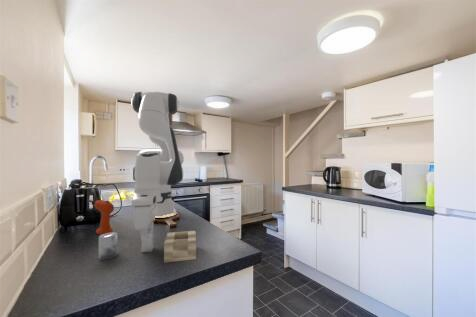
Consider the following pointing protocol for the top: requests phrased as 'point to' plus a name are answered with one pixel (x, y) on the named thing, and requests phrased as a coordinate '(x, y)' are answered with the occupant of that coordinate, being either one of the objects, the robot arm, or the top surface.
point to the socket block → (180, 246)
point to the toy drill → (104, 215)
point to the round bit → (108, 246)
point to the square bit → (148, 239)
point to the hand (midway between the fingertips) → (147, 234)
